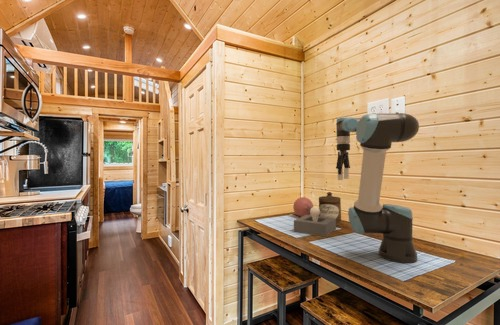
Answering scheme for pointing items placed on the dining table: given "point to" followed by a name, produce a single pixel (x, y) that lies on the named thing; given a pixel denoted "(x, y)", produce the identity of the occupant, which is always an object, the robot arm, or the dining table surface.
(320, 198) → the wooden container
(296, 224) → the socket block
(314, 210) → the lightbulb
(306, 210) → the balloon
